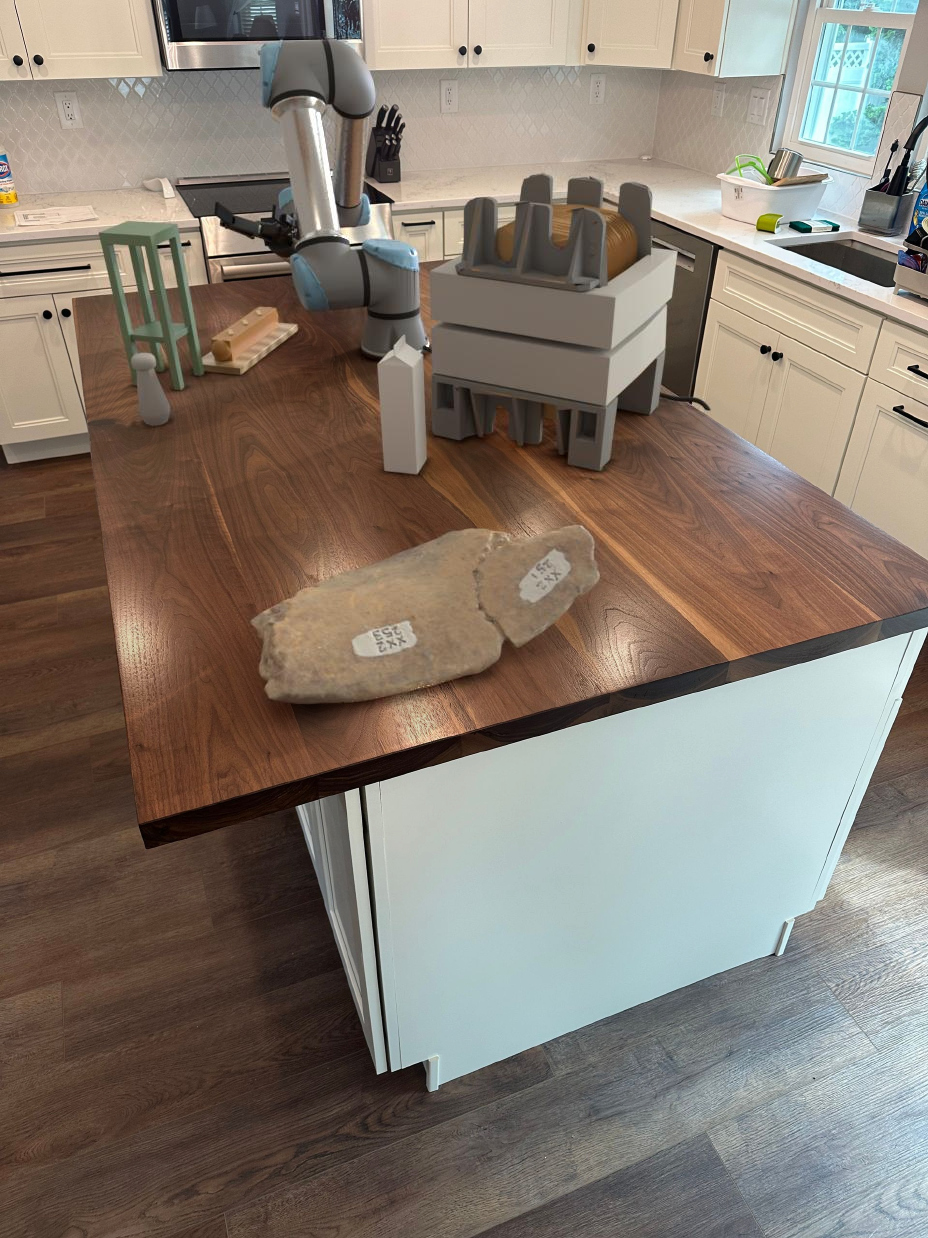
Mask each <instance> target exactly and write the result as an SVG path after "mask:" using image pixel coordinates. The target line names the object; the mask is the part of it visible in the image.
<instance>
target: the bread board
mask: <svg viewBox="0 0 928 1238" xmlns="http://www.w3.org/2000/svg"><path fill="white" fill-rule="evenodd" d="M278 326H279V327H278V328H276V329H275V330H274V331H272V332H271V333H270V334H268V335H267V336H266V337H264V338H263V339H262V340H260V341H259V342H258V343H256V344H255V345H254V346H252V347H251V348H249V349H248V350H247V351H245V352H244V353H243V354H241V355H240V356H239V357H237V358H236V359H235V360H233V361H228V360H225V361H220V360H217V359H214V356H213V354H212V351H209V352H208V353H206V354H205V355H204V356H201V357H202V362H203V368H204V372H208V373H220V374H227V375H238V376H241V375H243V374H244V373H245V372H247V371H248V370H249V369H250V368H252V367H253V366H255V364H257V363H258V362H259V361H261V360H262V359H263V358H265V357H266V356H267V355H268V354H270V353H271V352H272V351H273V350H275V349H276V348H278V347H279V346H280V345H282V343H284V342H285V341H286V340H288V339H290V338H291V337H292V336H293V335H295V333H297V332H298V331H299V326H298V324H297V323H287V322H278Z"/></svg>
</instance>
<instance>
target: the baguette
mask: <svg viewBox="0 0 928 1238" xmlns="http://www.w3.org/2000/svg"><path fill="white" fill-rule="evenodd" d="M278 323H279V313H278V310H277V307H271V306H258V307H256V308H255V309H253V310H252V311H250V312H249V313H248V314H246V315H244V316H242V317H241V318H240V319H238V320H237V321H235V322H234V323H232V324H231V325H230V326H228V327H226V328H225V329H224V330H222V331H221V332H219V333H218V334H217V335H215V336H213V337H212V338H210V341H211V349H210V350H211V351H212V354H213V356H214V359H217V360H220V361H225V360H228V361H233V360H235V359H236V358H237V357H239V356H240V355H241V354H243V353H244V352H245V351H247V350H248V349H249V348H251V347H252V346H254V345H255V344H256V343H258V342H259V341H260V340H262V339H263V338H264V337H266V336H267V335H268V334H270V333H271V332H272V331H274V330H275V329H276V328H278V327H279V326H278ZM211 351H210V352H211Z"/></svg>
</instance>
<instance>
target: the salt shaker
mask: <svg viewBox="0 0 928 1238" xmlns="http://www.w3.org/2000/svg"><path fill="white" fill-rule="evenodd" d="M137 353H138V354H135V355H134V356H133V357H132V359H131V364H132V367H133V368H134V369H135V370H136V371H137V386H136V389H137V406H138V407H137V413H138V415H139V416H140V418H141V419H142V421H143V422H144V423H145V424H146V425H148V426H150V427H155V426H162V425H165V424H166V423H168V422H169V419H170V413H171V406H170V403H169V401H168V399H167V397H166V394H165V392H164V390H163V387H162V385H161V383H160V381H159V378H158V376H157V373H156V371H155V368H154V367H156V359H155V357H154V356H153V355H152V354H151V352H150V353H149V352H137Z"/></svg>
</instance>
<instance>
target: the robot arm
mask: <svg viewBox="0 0 928 1238" xmlns="http://www.w3.org/2000/svg"><path fill="white" fill-rule="evenodd" d="M259 85H260V100H261V106H262V107H263V108H266V109H269V110H270V115H271V118H272V119H273V120H274V121H275V122H277V123H278V124H279V125H280V129H281V135H282V142H283V146H284V147H283V148H284V152H285V159H286V165H287V170H288V175H289V182H290V186H289V187H286V188H284V189H283V190H281V191H280V192H279V194H278V198H277V199H278V205H279V206H278V205H277V204H272V211H271V219H272V220H273V221H275V222H273V223H271V222H265V221H261V220H258V219H257V220H255V221H254V220H251V219H248V218H244V217H241V216H238V215H235V214H234V212H232V211H231V210H230V209H229V208H227V207H226V206H224V205H223V204H222V203H221V202H219V201H215V203H214V213H213V215H214V216H215V217H216V218H218V219H219V226H220V227H222V228H224V229H225V230H230V231H232V232H234V233H237V234H240V235H242V236H245V237H246V238H248V239H250V240H255V239H256V238H258V239H261V240H263V241H264V242H265V243H266V246H267V248H268V249H269V251H271V252H272V253H274V254H275V255H276V256H277V257H279V258H280V259H282V260H283V261H285V262H286V263H287V264H289V265H290V267H289V268H290V271H291V277H292V281H293V285H294V288H295V291H296V293H297V298H298V300H299V302H300V304H301V305H302V307H303V308H304V309H305V310H306V311H308V312H312V313H313V312H325V313H328V312H330V311H338V310H350V309H359V308H360V309H361V308H366V311H367V313H366V314H367V315H366V316H367V317H366V322H365V328H364V332H363V336H362V339H361V342H360V344H361V345H360V347H361V353H362V355H364V356H365V357H366V358H369V359H370V360H374V361H379V362H380V361H381V360H382V359H383V358H384V357H385V356H386V355H387V353H388V352H390V351H391V350H393V349H394V345H395V344H396V343H397V342H398V341H399V340H400V338H401V337H402V336H403V335H405V340H406V344H408V345H409V346H411V347H412V348H414V349H415V350H417V351H418V352H420V353H421V354H423V357H424V356H426V355H427V354H428V353H430V354H432V347H430V340H429V339H430V338H429V337H428V334H427V332H426V328H425V325H424V323H423V319H422V317H421V304H420V303H421V302H420V301H421V299H420V266H419V265H420V264H419V256H418V252H417V249H416V248H415V247H414V246H413V245H412V244H409V243H407V242H404V241H400V240H396V239H391V238H378V237H377V238H376V237H375V238H367V239H364V240H363V242H362V244H361V248H356V249H352V248H351V243H350V239H349V238H348V237H347V236H346V235H344V234H343V233H342V232H341V229H345V228H348V229H349V228H357V227H363V226H367V225H369V223H370V222H371V204H370V199H369V196H368V195H367V194H366V193H363V192H364V181H365V170H366V159H367V146H368V136H369V122H370V117H371V116H372V115H373V113H374V111H375V107H376V106H375V105H376V88H375V83H374V78H373V76H372V73H371V71H370V69H369V66H368V65H367V63H366V62H365V60H364V58H363V57H362V56H361V55H360V53H358V51H356V50H355V48H353V47H352V46H350V45H349V44H347V43H345V42H343V41H341V40H338V39H331V38H330V39H312V40H311V39H310V40H309V39H307V40H305V39H304V40H284V39H280V40H278V41H267V42H264V43H263V44H262V45H261V48H260V50H259ZM328 105H330V106H331V108H332V110H333V112H334V125H333V126H334V127H333V129H334V130H333V150H332V151H333V153H332V174H331V168H330V162H329V155H328V151H327V145H326V140H325V132H324V128H323V122H322V119H323V118H324V117H325V115H326V114H327V110H328V108H327V106H328ZM659 398H662V399H665V400H669V401H673V402H678V403H695V404H697V405H699V406H701V407H702V409H704V411H708V412H710V411H712V409H711V408H710V406H709V405H708V403H707V402H705V401H704V400H703V399H701V398H699V397H696V396H695V397H694V396H678V395H673V394H668V393H666V392H661V391H660V395H659Z"/></svg>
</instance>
